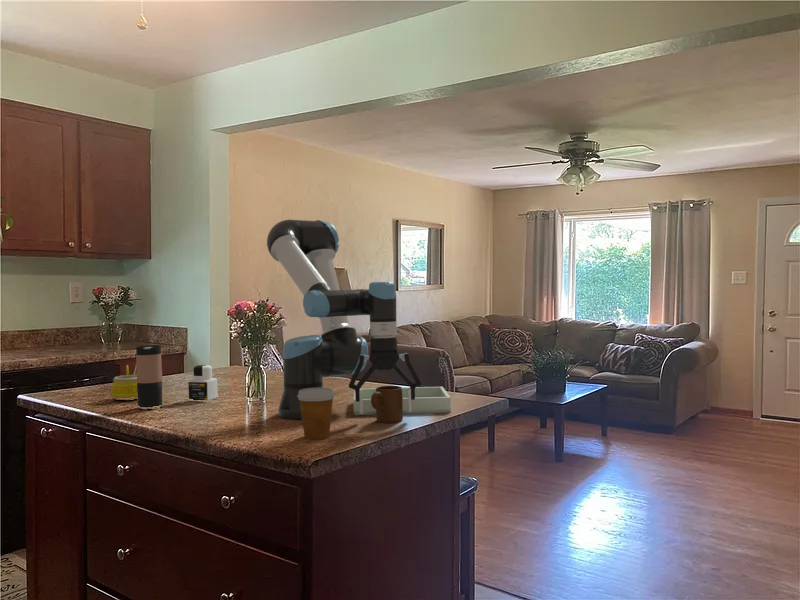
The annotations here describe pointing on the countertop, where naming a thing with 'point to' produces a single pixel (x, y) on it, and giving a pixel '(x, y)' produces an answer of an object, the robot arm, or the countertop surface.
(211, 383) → the medicine bottle
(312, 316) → the robot arm
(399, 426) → the countertop surface
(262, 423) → the countertop surface
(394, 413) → the mug
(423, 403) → the box
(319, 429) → the disposable coffee cup
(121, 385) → the yellow birthday cake
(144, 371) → the travel mug
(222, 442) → the countertop surface
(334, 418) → the countertop surface
